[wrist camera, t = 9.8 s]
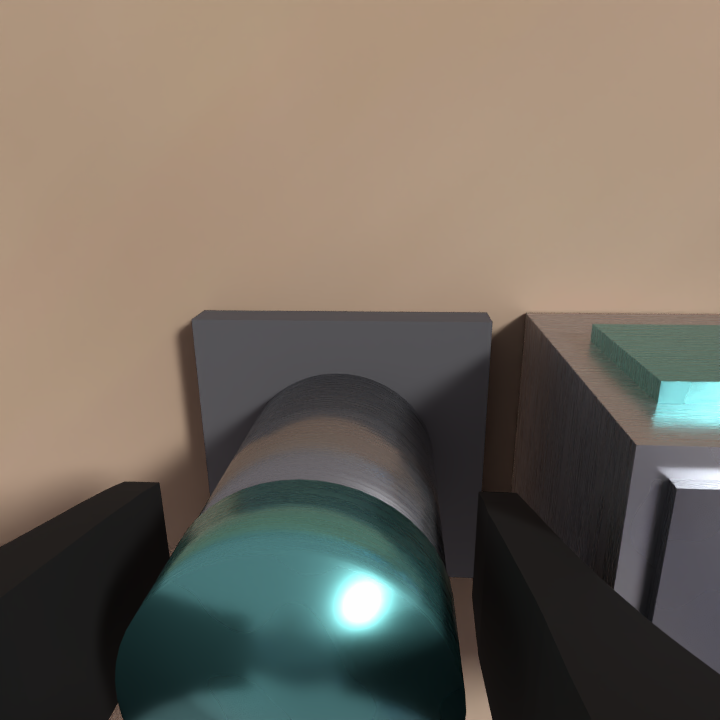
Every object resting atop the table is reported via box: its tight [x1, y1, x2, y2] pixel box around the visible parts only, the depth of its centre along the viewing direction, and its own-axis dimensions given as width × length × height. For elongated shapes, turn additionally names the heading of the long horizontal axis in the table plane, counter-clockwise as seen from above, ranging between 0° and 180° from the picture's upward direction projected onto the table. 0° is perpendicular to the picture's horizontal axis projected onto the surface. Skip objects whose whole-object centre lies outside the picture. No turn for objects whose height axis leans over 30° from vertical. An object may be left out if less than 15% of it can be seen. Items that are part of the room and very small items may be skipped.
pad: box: [192, 310, 492, 578], centre depth 13 cm, size 6×6×1 cm
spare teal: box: [115, 373, 466, 720], centre depth 10 cm, size 4×4×6 cm
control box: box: [511, 313, 720, 674], centre depth 10 cm, size 6×5×6 cm
